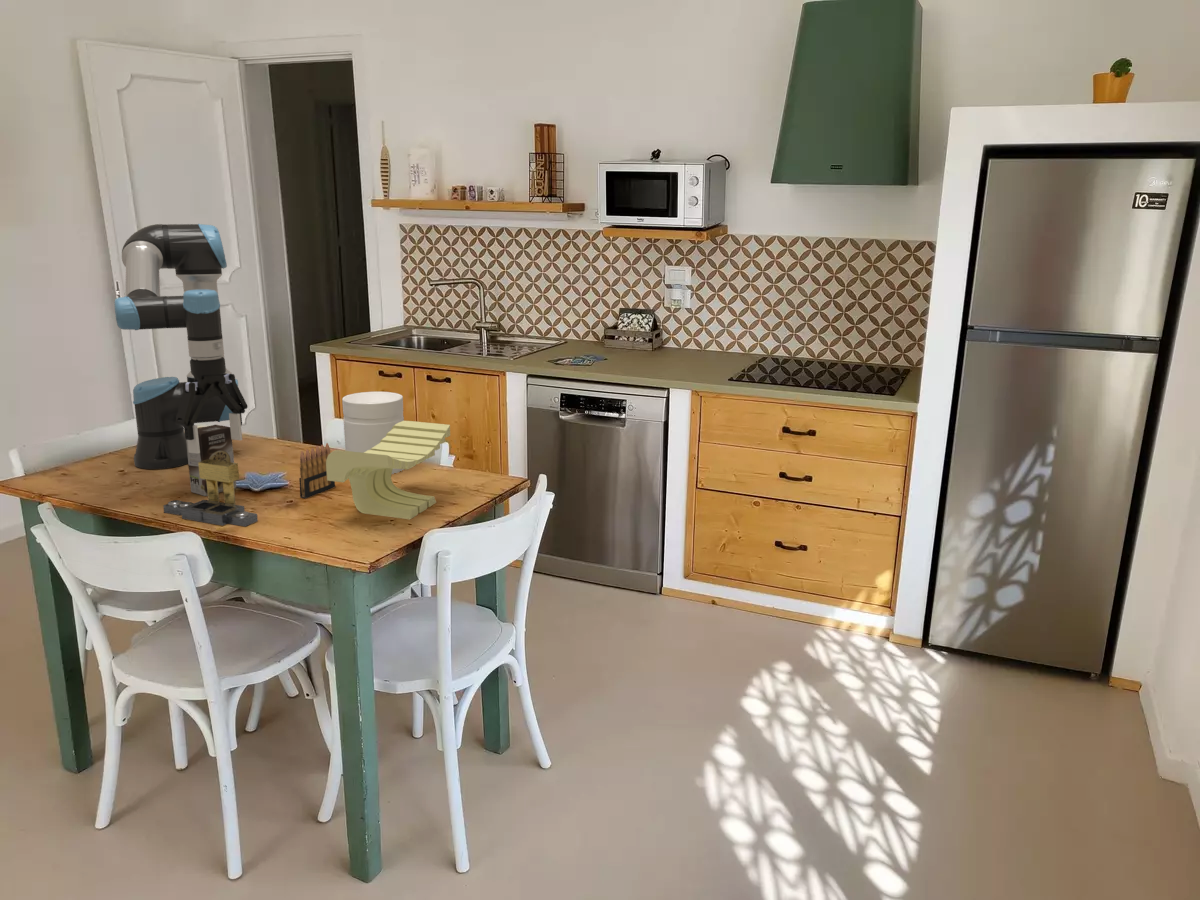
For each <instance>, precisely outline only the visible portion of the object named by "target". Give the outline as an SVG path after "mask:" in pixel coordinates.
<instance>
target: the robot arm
mask: <svg viewBox="0 0 1200 900" xmlns="http://www.w3.org/2000/svg"><path fill="white" fill-rule="evenodd" d="M121 261H122V264H123V265H124V267H125V296H122V297H121V296H120V297H117V298H115V300H114V313H115V321H116V325H117V327H118V328H119V329H121V330H131V331H133V330H134V331H139V330H157V329H160V330H161V329H183V328H185V329H186V335H187V347H188V357H190V360H189V366H190V371H188V373H187V374H186V381H182V382H180V379H179V378H178V377H176V376H163V377H158V378H153V379H148V380H144V381H142V382H139V383H137V384H136V385H135V386H134V387H133V390H132V393H133V394H132V395H133V401H132V404H133V405H134V411H135V419H136V420H135V421H136V429H137V442H136V447H135V453H134V455H133V462H134V463H133V464H134V466H135V467H137V468H139V469H143V470H144V469H145V470H160V469H161V470H162V469H171V468H176V467H182V466H185V465H189V464H188V454H187V444H186V440H187V443H188V452H189V453H196V454H198V453H200V447H199V438H198V428H199V427H198V425H196V424H200V423H213V422H217V423H221V422H224V421H225V422H226V421H229V427H230V430H231V439H232V441H233V440H234V441H243V434H242V433H243V431H242V425H243V420H242V419H243V417H242V414H245V412H246V410H247V409H248V404H247V402H246V400H245V398H244V396H243V394H242V392H241V390H240V388H239V381H238V379H236V376H235V374H234V373H232V372H231V371H230V370H229V369H228V368H227V367H226V359H225V349H224V340H223V338H224V337H223V329H222V318H221V317H222V316H221V303H220V299H219V289H218V280H219V279H221V276H223V272H222V269H223V270H224V269H226V268H227V267H228V265H227V259H226V254H225V250H224V247H223V241H222V238H221V234H220V230H219V228H218V227H216V226H215V225H213V224H202V223H201V224H200V223H196V224H195V223H194V224H193V223H192V224H191V223H187V224H183V223H181V224H177V223H175V224H169V223H168V224H162V223H159V224H152V225H147V226H144V227H143V228H140V229H139V230H137V231H136V232H134V233H133V234H131V235H130V236H129V237H128V239H126V241H125V242H124V244H123V247H122V248H121ZM161 269H162V270H163V269H167V270H168V269H169V270H171V269H173V270H175V276H176V277H177V278H178V280H180V281H181V282H182V287H183V295H170V296H169V295H167V296H166V295H164V296H163V295H161V284H160V281H161V279H160V270H161Z"/></svg>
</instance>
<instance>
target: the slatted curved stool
mask: <svg viewBox="0 0 1200 900" xmlns="http://www.w3.org/2000/svg"><path fill="white" fill-rule="evenodd" d="M448 437H451V425H450V424H444V423H435V422H425V421H423V422H422V421H414V420H413V421H412V420H404V421H401V422H399V423H397V424H395V425H394V426H393V427H392V429H391V431H389V432H388V433H387V434H386V437H384V438H383V439H382V440H381V441H380V443H379V444H377V445H376V446H374V447H373V448H371V450H367V451H366V452H363V453H361V452H352V451H345V450H344V449H343V450H342V449H341V450H340V449H335V450H332V451H330V454H329V455H328V457H327V460H326V471H327V480H328V481H335V483H345V482H346V481H347V480H348V481H349V484H350V488H351V493H352V500H353V503H354V505H355V507H356V510H357V511H358V512H359V513H362V514H366V515H373V516H379V517H380V516H382V517H389V518H395V519H403V520H411V519H413V518H415V517H417V516H418V514H422V512H424V511H426V510H427V509H428V508H431V506H433V505H435V504H436V503H437V501H436V499H435V496H434V495H426V494H419V493H414V492H411V491H407V490H404V489H401V488H399V487H398V486H397V485H395V484H394V483H393V480H392V475H393V474H392V470H393V469H404V470H410V469H411V468H413V467H415V466H417V465H419V464H421V463H422V462H425V461H426V460H429V459H430V458H432V457H434V456H435V455H436V453H435V451H438V450H441V445H442V444H444V443H446V438H448Z"/></svg>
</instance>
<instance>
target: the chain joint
mask: <svg viewBox="0 0 1200 900" xmlns="http://www.w3.org/2000/svg"><path fill="white" fill-rule="evenodd" d="M235 504H236V503H235ZM235 504H228V503H225V502H220V501H219V502H216V501H210V500H208V499H202V500H199V501H196V502H192V501H183V500H180V499H179V500H178V499H176V500H175V499H174V500H169V501H167V503H166V504H164V505H162V506H163V513H164V514H170V515H177V516H181V518H182V519H183V520H189V521H194V522H201V523H205V524H211V525H218V526H222V527H223V526H226V525H233V526H240V527H248V526H250V525H253V524H255V523H256V522H258V521H259V520H258V513H256V512H249V511H246V510H245V505H239V504H236V505H235Z"/></svg>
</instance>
